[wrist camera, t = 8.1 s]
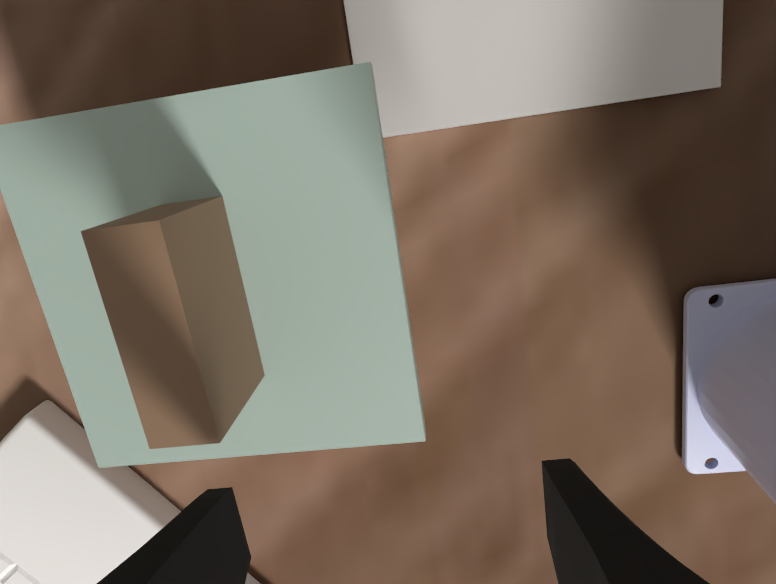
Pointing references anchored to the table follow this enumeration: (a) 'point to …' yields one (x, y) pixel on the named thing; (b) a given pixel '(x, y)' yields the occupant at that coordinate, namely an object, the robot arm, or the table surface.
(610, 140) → the table surface
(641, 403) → the table surface
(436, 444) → the table surface
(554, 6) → the mat
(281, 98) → the lid
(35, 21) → the table surface
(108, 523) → the laptop
